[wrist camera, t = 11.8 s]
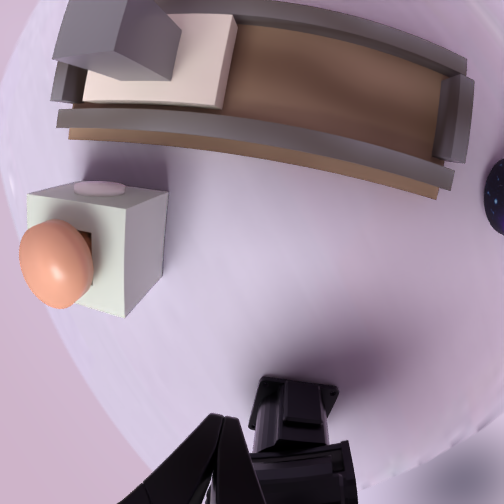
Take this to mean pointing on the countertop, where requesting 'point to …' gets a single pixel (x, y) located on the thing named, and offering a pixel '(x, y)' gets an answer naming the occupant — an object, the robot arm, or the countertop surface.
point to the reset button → (57, 262)
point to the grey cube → (111, 236)
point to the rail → (307, 98)
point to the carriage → (147, 53)
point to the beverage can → (495, 197)
